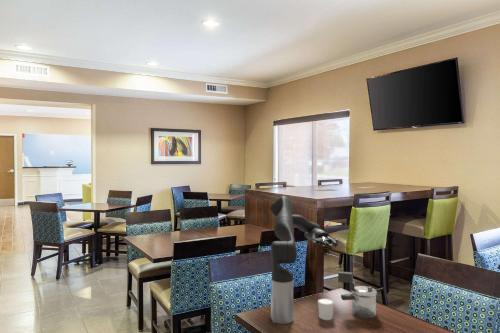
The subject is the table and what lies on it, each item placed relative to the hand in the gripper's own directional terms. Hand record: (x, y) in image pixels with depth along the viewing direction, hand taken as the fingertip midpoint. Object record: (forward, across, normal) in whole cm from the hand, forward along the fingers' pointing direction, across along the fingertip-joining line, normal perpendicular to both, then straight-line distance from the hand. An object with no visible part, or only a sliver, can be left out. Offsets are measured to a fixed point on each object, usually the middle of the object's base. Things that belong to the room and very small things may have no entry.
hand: (331, 245), depth 179 cm
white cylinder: (+21, -10, +26) cm, 35 cm away
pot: (+19, +5, +26) cm, 33 cm away
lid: (+18, +5, +17) cm, 25 cm away
